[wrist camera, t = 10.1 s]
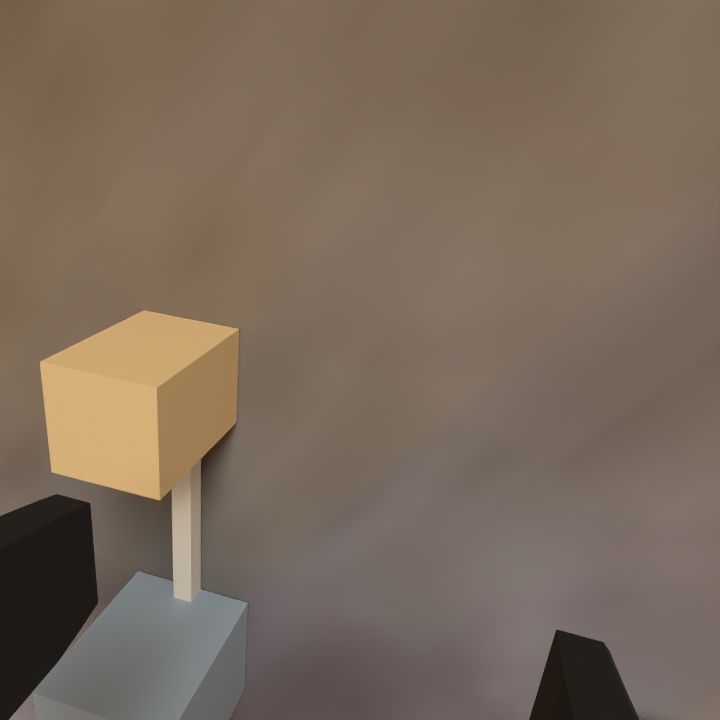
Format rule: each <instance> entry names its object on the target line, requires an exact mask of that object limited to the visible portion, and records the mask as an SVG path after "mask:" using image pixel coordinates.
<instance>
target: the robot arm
mask: <svg viewBox="0 0 720 720" xmlns="http://www.w3.org/2000/svg"><path fill="white" fill-rule="evenodd" d="M97 603H98V595H97V583H96V570H95V558H94V546H93V533H92V521H91V509H90V503H88V502H84V501H80V500H77V499H73V498H69V497H66V496H62V495H58V494H56V495H53V496H50V497H48V498H45V499H42V500H39V501H37V502H34V503H32V504H29V505H26V506H24V507H21V508H19V509H17V510H14V511H12V512H9V513H7V514H4V515H2V516H0V720H9V719H10V717H11V716H12V715H13V714H14V713H15V712H16V710H17V709H18V708H19V707H20V706H21V705H22V703H23V702H24V701H25V700H26V699H27V698H28V696H29V695H30V694H31V693H32V692H33V691H34V690H35V688H36V687H37V686H38V685H39V684H40V683H41V681H42V680H43V679H44V678H45V677H46V675H47V674H48V673H49V672H50V671H51V669H52V668H53V667H54V666H55V665H56V663H57V662H58V661H59V659H60V658H61V657H62V655H63V654H64V652H65V651H66V650H67V648H68V647H69V645H70V644H71V642H72V641H73V640H74V638H75V637H76V635H77V634H78V632H79V631H80V629H81V628H82V626H83V625H84V623H85V622H86V620H87V619H88V617H89V616H90V614H91V613H92V611H93V610H94V608H95V607H96V605H97ZM529 720H640V719H639V718H638V716H637V713H636V711H635V709H634V707H633V705H632V702H631V700H630V698H629V696H628V693H627V691H626V689H625V687H624V684H623V682H622V680H621V677H620V675H619V673H618V670H617V668H616V666H615V663H614V661H613V658H612V656H611V654H610V651H609V650H608V648H607V647H606V645H605V644H604V642H601V641H597V640H593V639H590V638H586V637H582V636H578V635H575V634H571V633H567V632H564V631H560V630H556V633H555V636H554V639H553V643H552V646H551V649H550V652H549V656H548V659H547V662H546V666H545V669H544V672H543V676H542V679H541V682H540V686H539V689H538V692H537V696H536V699H535V702H534V706H533V709H532V712H531V716H530V719H529Z"/></svg>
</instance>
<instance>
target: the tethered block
mask: <svg viewBox="0 0 720 720" xmlns="http://www.w3.org/2000/svg"><path fill="white" fill-rule="evenodd" d="M238 355H239V329H237V328H232V327H226V326H221V325H216V324H211V323H206V322H201V321H196V320H191V319H186V318H181V317H175V316H170V315H165V314H160V313H155V312H150V311H145V310H144V311H142V312H140V313H138V314H136V315H134V316H132V317H130V318H128V319H126V320H124V321H122V322H120V323H118V324H116V325H114V326H112V327H110V328H107V329H105V330H103V331H101V332H99V333H97V334H95V335H93V336H91V337H89V338H87V339H85V340H83V341H81V342H79V343H77V344H75V345H73V346H71V347H69V348H67V349H65V350H63V351H61V352H59V353H57V354H55V355H53V356H51V357H49V358H47V359H45V360H43V361H41V362H40V368H41V377H42V386H43V396H44V405H45V414H46V423H47V433H48V442H49V451H50V460H51V470H52V472H53V473H57V474H61V475H64V476H68V477H72V478H76V479H80V480H83V481H87V482H91V483H95V484H99V485H103V486H106V487H110V488H114V489H118V490H122V491H125V492H129V493H133V494H137V495H141V496H144V497H148V498H152V499H156V500H161V499H162V498H163V497H164V496H165V495H166V494H167V493H168V492H169V491H170V490H171V489H172V536H173V581H171V580H167V579H164V578H160V577H157V576H154V575H150V574H147V573H143V572H140V571H138V572H137V573H136V574H135V575H134V576H133V578H132V579H131V580H130V581H129V582H128V583H127V584H126V586H125V587H124V588H123V589H122V590H121V591H120V592H119V594H118V595H117V596H116V597H115V598H114V599H113V600H112V602H111V603H110V604H109V605H108V606H107V607H106V608H105V609H104V611H103V612H102V613H101V614H100V615H99V616H98V617H97V619H96V620H95V621H94V622H93V623H92V624H91V625H90V627H89V628H88V629H87V630H86V631H85V632H84V633H83V635H82V636H81V637H80V638H79V639H78V640H77V641H76V643H75V644H74V645H73V646H72V647H71V648H70V649H69V651H68V652H67V653H66V654H65V655H64V656H63V657H62V659H61V660H60V661H59V662H58V663H57V664H56V665H55V667H54V668H53V669H52V670H51V671H50V672H49V673H48V675H47V676H46V677H45V678H44V679H43V680H42V681H41V683H40V684H39V685H38V686H37V687H36V688H35V690H34V691H33V692H32V696H33V703H34V710H35V717H36V720H230V718H231V716H232V714H233V712H234V710H235V708H236V706H237V704H238V702H239V700H240V698H241V696H242V694H243V692H244V690H245V666H246V642H247V618H248V603H247V602H243V601H240V600H236V599H233V598H229V597H226V596H222V595H219V594H216V593H212V592H209V591H205V590H202V589H201V458H202V457H203V456H204V455H205V454H206V453H207V452H208V451H209V450H210V449H211V448H212V447H213V446H214V445H215V444H216V443H217V442H218V441H219V440H220V439H221V438H222V437H223V436H224V435H225V434H226V433H227V432H228V431H229V430H230V429H231V428H232V427H233V426H234V425H235V424H236V422H237V390H238Z"/></svg>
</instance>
